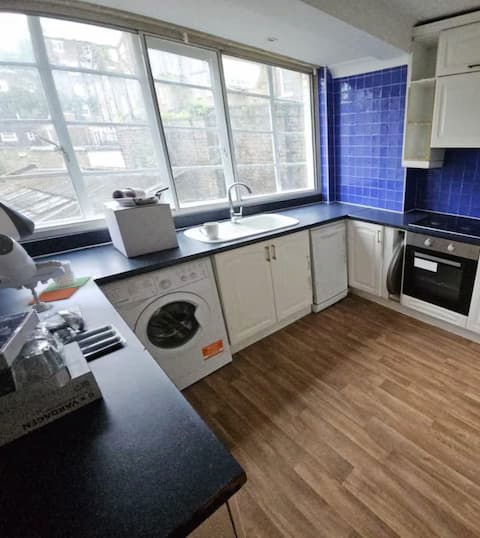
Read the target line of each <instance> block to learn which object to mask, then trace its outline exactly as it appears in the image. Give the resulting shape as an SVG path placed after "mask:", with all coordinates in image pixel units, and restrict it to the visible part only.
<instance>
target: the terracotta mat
mask: <svg viewBox="0 0 480 538" xmlns="http://www.w3.org/2000/svg"><path fill="white" fill-rule="evenodd" d="M78 289H79V287H75V288H69V289H63V290H57V291H51V292H44V293H43V292H42V293H40V294H39V295H37V296H38V297H39V301H40V302H45V303H50V302H54V301H61V300H67V299H69V298H70V297H71V296H72V295H73V294H74V293H75V292H76V291H77V290H78ZM35 303H36V301H35V299H33V300H32V301H31V302H30V303H28V306H33V304H35Z"/></svg>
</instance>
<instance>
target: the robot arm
mask: <svg viewBox="0 0 480 538" xmlns="http://www.w3.org/2000/svg"><path fill="white" fill-rule="evenodd" d="M35 227H36V224H35V222H34V221H33V220H32V219H31V218H30V217H29V216H27V215H26V214H24V213H22V212H21V211H19V210H17V209H15V208H14V207H12V206H10V205H8V204H6V203H5V202H3V201H1V200H0V290H5V289H14V290H16V291H20V290H24V286H22V285H24V284H28V283H33V282H37V281H38V282H40V283H41V284H42V285H46V284H49V282H48V281H49V280H52V278H56V277H60V276H63V275H65V270H64V268H63V266H62V264H61V262H60V261H61V260H54V259H53V260H52V259H51V260H45V261H39V262H36V261H34V260H33V258H32V257H31V256H30V255H28V254H29V253H28V252H27V250H26V249H25V248H24V247H23V245H21V244H20V243H19V242H18V241H21V240H24V239H26V238H28V237H31V236H33V234H34V232H35ZM35 262H36V263H35Z"/></svg>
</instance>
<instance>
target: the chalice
mask: <svg viewBox="0 0 480 538" xmlns="http://www.w3.org/2000/svg"><path fill="white" fill-rule="evenodd" d="M34 262H35V263H37V262H36V261H34ZM38 283H39V281H37V282H33V283H28V284H24V285H22V286H23V288H25V289H26V290H30V294H31V295H32V296H33V297H32V299H33V300H35V301H36V303H35V304H33V305H31V310H32V309H36V311H37V312H36V313H40V312H43V311H47V310H49V309H50V308H51V306H50V305H48V304H47V302H40V301H39V297H38V296H39V295H38V292H37V291H36V290H35V289H36V288H37V287H38Z"/></svg>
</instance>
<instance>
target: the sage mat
mask: <svg viewBox="0 0 480 538" xmlns="http://www.w3.org/2000/svg"><path fill="white" fill-rule="evenodd" d="M89 279H90V276H85V277H79V278H76V280H77V282H76V283H74V284H72V285H69V286H65V287H57V286H56V284H55V282H54V281H53V283H51V284H50V285H49V286H48V287H46V288H45V289H44V290H43V291H42V293H44V292H51V291H57V290H63V289H69V288H75V287H78V288H81V287H82V286H84V284H85V283H86V282H87V281H88V280H89Z"/></svg>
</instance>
